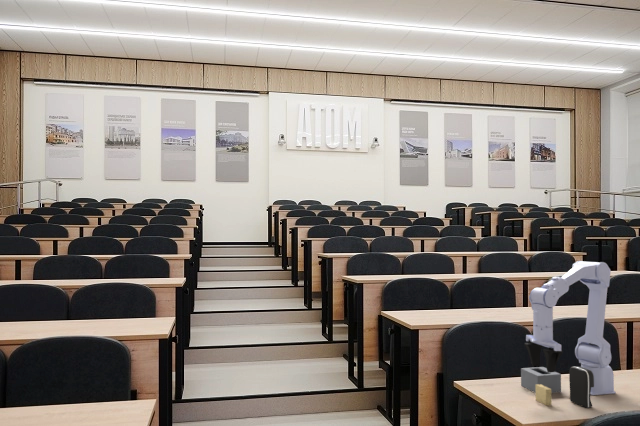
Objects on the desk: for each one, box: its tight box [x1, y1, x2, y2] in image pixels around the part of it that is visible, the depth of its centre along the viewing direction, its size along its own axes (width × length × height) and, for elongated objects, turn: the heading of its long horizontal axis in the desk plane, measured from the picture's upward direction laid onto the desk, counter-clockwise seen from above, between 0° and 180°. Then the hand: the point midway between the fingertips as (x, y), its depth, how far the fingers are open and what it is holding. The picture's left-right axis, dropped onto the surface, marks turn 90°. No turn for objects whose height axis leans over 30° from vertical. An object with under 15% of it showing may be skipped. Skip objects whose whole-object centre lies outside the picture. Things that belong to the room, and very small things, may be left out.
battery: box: [568, 366, 594, 408], centre depth 153 cm, size 7×4×11 cm, turn 17°
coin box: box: [520, 366, 562, 394], centre depth 168 cm, size 9×9×6 cm
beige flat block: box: [535, 384, 553, 407], centre depth 155 cm, size 2×5×5 cm, turn 12°
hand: (542, 368), depth 155 cm, fingers open, 7 cm apart
